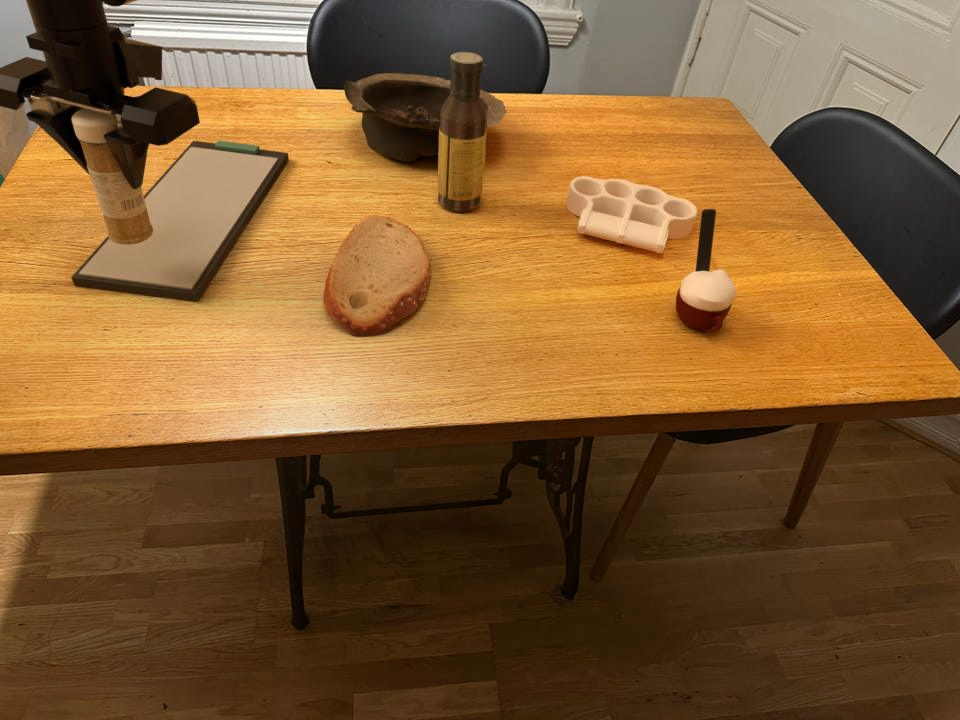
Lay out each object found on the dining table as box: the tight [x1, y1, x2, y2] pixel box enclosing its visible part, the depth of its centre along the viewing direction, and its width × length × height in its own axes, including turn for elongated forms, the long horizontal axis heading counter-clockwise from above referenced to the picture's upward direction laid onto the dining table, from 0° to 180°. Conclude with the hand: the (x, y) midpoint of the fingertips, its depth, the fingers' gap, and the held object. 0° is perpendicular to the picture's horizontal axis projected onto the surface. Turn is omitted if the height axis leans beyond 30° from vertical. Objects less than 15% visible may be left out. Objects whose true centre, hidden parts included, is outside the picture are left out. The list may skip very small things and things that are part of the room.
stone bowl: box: [343, 72, 508, 162], centre depth 108 cm, size 25×25×9 cm
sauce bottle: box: [437, 51, 488, 213], centre depth 91 cm, size 6×6×20 cm
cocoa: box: [675, 208, 738, 333], centre depth 79 cm, size 10×6×12 cm, turn 167°
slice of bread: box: [322, 214, 432, 337], centre depth 82 cm, size 18×18×4 cm
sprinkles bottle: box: [72, 108, 153, 245], centre depth 70 cm, size 5×5×13 cm
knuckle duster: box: [565, 175, 698, 254], centre depth 97 cm, size 3×18×15 cm
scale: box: [71, 140, 289, 303], centre depth 89 cm, size 34×14×2 cm, turn 175°
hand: (117, 181), depth 71 cm, fingers closed on sprinkles bottle, 4 cm apart
